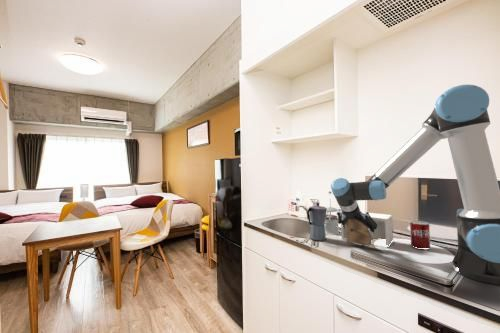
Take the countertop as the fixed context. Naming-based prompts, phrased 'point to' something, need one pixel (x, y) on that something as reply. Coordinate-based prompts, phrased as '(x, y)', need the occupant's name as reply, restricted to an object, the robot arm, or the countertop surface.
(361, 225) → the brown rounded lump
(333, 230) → the french press
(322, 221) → the moka pot
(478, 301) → the countertop surface
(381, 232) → the white box
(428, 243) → the soda can
